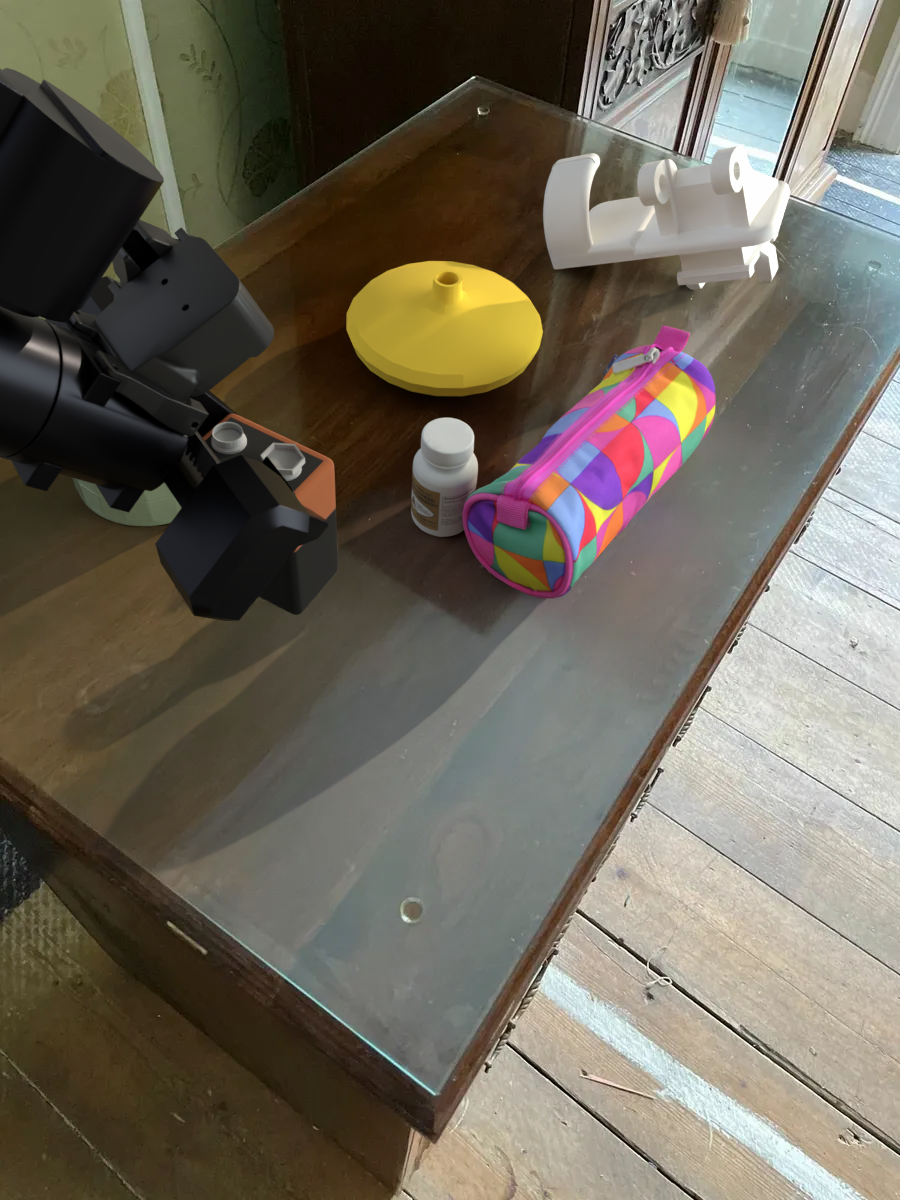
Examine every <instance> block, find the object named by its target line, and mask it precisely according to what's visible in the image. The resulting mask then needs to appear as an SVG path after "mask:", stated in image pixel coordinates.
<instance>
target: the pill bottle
mask: <svg viewBox="0 0 900 1200" xmlns="http://www.w3.org/2000/svg"><path fill="white" fill-rule="evenodd" d="M474 433H475V432H474V431H473V429H472V428H471V426H470V425H469V424H467V423H466V422H464V421H462V420H461V419H458V418H454V417H439V418H435V419H433V420H431V421H429V422H427V423H426V424H425V425H424V427H423V428H422V431H421V436H420V448H419V449H418V450H417V451H416V453H415V455H414V457H413V461H412V474H411V478H412V479H411V501H410V502H411V503H410V513H411V518H412V521H413V522H414V524H415V525H416V526H417V527H418V529H420V530H421V532H422V531H423V532H424V533H426V534H428V535H431V536H434V537H440V538H444V537H452V536H456V535H459V534H460V533H462V532H463V531H464V526H463V509H464V505H465V502H466V500H467V498H468V497H469V495H470V494H472V493H473V492H475V491H476V490H477V483H478V474H479V463H478V458H477V456H476V455H475V453H474V450H475V434H474Z"/></svg>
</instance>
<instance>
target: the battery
mask: <svg viewBox="0 0 900 1200" xmlns="http://www.w3.org/2000/svg"><path fill="white" fill-rule="evenodd" d="M239 415H240V414H238V415H236V414H229V415H227V416H226V417H225V418H224V419H223V420H221V421H220V422H219V423H218V424H217V425H216V426H215V427H214V428H212V429H211V430H210V431H209V432H208V433H207V434H206V435H205V436H204V437H202V438H203V439H204V441H205V442H206V443H207V445H208V446H209V448H210V449H211V450H212V452H213V453H214V454H215V456H216V457H217V459H218V460H219V461H220V463H221V462H223V461H226V460H228V459H231V458H233V457H236V456H239V455H241V454H242V455H245V456H247V457H250V458H253V459H256V460H258V461H260V462H261V463H262V461H263V460H264V459H265V457H266V456H267V457H268V458H269V459H270V460H271V461H272V463H273V464H274V465H275V467H276V468H277V469H278V470H279V472H280V473H281V474H282V476H283V477H284V478H285V480H286V481H287V482H288V483H289V485H290V486H291V487H292V489H293V490H294V492H295V495H296V497H297V499H298V500H299V501H300V503H301V504H302V505H303V506H305V507H307V508H309V509H310V510H312V511H313V512H315V513H317V514H318V515H320V516H321V517H323V518H324V519H325V520H326V521H327V522H328V527H327V528H326V529H325V531H324V532H323V533H322V534H321V536H320V537H319V538H318V539H316V540H314V541H311V542H308V543H306V544H303V545H300V546H298V547H297V549H296V550H295V551H294V552H293V554H292V555H291V556H290V557H289V559H288V560H287V561H286V562H285V564H284V565H283V566H282V567H281V569H280V570H279V571H278V572H277V574H276V575H275V576H274V577H273V579H272V580H271V581H270V583H269V584H268V585H267V586H266V588H265V589H264V590H263V591H262V593H261V594H260V595H259V596H258V598H260V599H262V600H264V601H266V602H268V603H270V604H272V605H273V606H275V607H277V608H279V609H280V610H283V611H285V612H286V613H289V614H291V615H295V616H299V615H301V614H302V613H303V612H304V611H305V610H306V609H307V608H308V606H309V605H310V604H311V603H312V601H313V600H314V599H315V598H316V597H317V596H318V595H319V594H320V592H321V591H322V590H323V589H324V588H325V586H327V584H328V583H329V582H330V581H331V580H332V578H333V577H334V576H335V575H336V574H337V572H338V571H339V557H338V556H339V555H338V534H337V533H338V531H337V529H338V527H337V505H336V504H337V503H336V478H335V477H336V476H335V464H334V461H333V460H332V459H331V458H330V457H328V456H326V455H324V454H322V453H319V452H318V451H315V450H314V449H311V448H309V447H307V446H305V445H304V444H301V443H299V442H297V441H295V440H292V439H290V438H288V437H286V436H284V435H281V434H279V433H277V432H275V431H274V430H271V429H269V428H267V427H264V426H263V425H261V424H258V423H256V422H253V421H252V420H250V419H248V418H245V417H244V416H241V415H240V416H239Z"/></svg>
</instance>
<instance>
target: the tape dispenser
mask: <svg viewBox="0 0 900 1200" xmlns="http://www.w3.org/2000/svg"><path fill="white" fill-rule="evenodd" d="M716 150H717V151H716V152H715V153H714V155H713V156H712V159H711V163H708V164H702V165H697V166H690V167H685V168H680V169H678V167H677V165H676V163H675V162H674V160H672V159H671V158H665V159H659V160H655V161H650V162H646V163H644V164H643V165H642V166H641V167H640V169H639V171H638V174H637V180H636V189H637V194H638V196H633V197H627V198H621V199H613V200H608V201H604V202H601V203H598V204H597V205H595V206H593V207H592V208H591V209H590V196H591V189H592V184H593V181H594V177H595V175H596V173H597V170H598V168H599V167H600V164H601V158H600V156H599V155H598V154H597V153H594V152H590V153H586V154H581V155H575V156H571V157H565V158H560V159H558V160H557V161H556V162H554V163H553V165H552V167H551V170H550V173H549V176H548V179H547V182H546V186H545V190H544V197H543V208H542V216H543V217H542V221H543V233H544V238H545V244H546V248H547V252H548V255H549V260H550V262H551V265H552V268H553V270H563V269H564V270H565V269H570V268H571V269H572V268H581V267H588V266H589V267H590V266H597V265H606V264H614V263H623V262H629V261H631V262H632V261H638V260H647V259H656V258H665V257H671V256H673V257H674V256H678V257H679V262H680V268H679V270H678V271H677V272H676V282H677V286H686V288H688V289H689V290H691V291H695V290H702V289H703V288H704V286H705V284H707V283H717V282H727V281H737V280H746V279H747V280H748V279H751V278H752V276H753V275H754V273H755V272H756V274H757V275H756V276H757V281H758V283H759V284H768V283H771V282H772V281H773V279H774V278H775V276H776V274H777V272H778V270H779V261H778V256H777V248H776V245H774V244H773V242H775V241H776V240H777V238H778V236H779V232H780V228H781V225H782V222H783V220H784V219H783V218H784V216H785V212H786V209H787V205H788V202H789V200H790V197H791V190H790V189H791V188H790V185H789V184H788V183H787V182H786V181H783V180H778V178H776V177H773V176H770V175H767V174H765V173H762V172H761V171H757V170H755V169H753V167H752V165H751V164H750V160H749V157H748V154H747V151H746V149H745V148H744V146H742V145H737V146H731V147H726V148H720V149H716ZM755 269H756V271H755Z"/></svg>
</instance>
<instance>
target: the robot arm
mask: <svg viewBox="0 0 900 1200" xmlns="http://www.w3.org/2000/svg"><path fill="white" fill-rule="evenodd" d="M163 183H165V179H164V176H163V175H162V173H161V172H160V171H159V170H158V169H157V167H156V166H155V165H154V164H153V163H152V162H151V161H150V160H149V159H148V157H146V156H145V155H144V154H143V153H142V152H141V151H140V150H139V149H138V148H137V147H135V146H134V145H133V144H132V143H131V142H129V140H127V138H125V137H123V135H121V134H120V133H119V132H117V130H115V129H114V128H112V127H111V126H110V125H109V124H108V123H106V122H105V121H104V120H103V119H101V118H100V117H99V116H98V115H97V114H95V113H94V112H92V111H91V110H90V109H88V108H87V107H86V106H84V105H83V104H81V102H79V101H77V100H76V99H75V98H73V97H72V96H71V95H69V94H67V93H66V92H64V91H63V90H62V89H60V88H59V87H57V86H55V85H54V84H52V83H51V82H49V81H48V80H46V79H44V78H43V79H42V80H41V83H40V82H38V81H37V80H34V79H33V78H31V77H29V76H28V75H26V74H24V73H22V72H21V71H18V70H16V69H12V68H9V67H5V68H3V69H2V68H0V458H1V459H4V460H8V461H10V462H11V463H12V465H13V467H14V469H15V471H16V472H17V474H18V477H19V478H20V479H21V481H22V483H23V485H24V486H26V487H30V488H33V489H37V490H41V491H44V492H48V491H49V489H50V488H51V486H52V484H53V483H54V482H55V480H56V479H57V477H58V476H59V475H62V476H65V477H69V478H71V479H72V478H75V479H79V480H83V481H86V482H90V483H93V484H96V486H97V487H98V489H99V490H100V492H101V494H102V495H103V497H104V499H105V500H106V502H107V503H108V505H109V507H110V508H113V509H117V510H121V511H125V512H130V510H131V509H132V508H133V506H134V505H135V503H136V502H137V501H138V499H139V498H140V496H141V495H142V494H143V492H144V491H145V490H147V491H153V490H155V489H157V488H158V487H159V486H161V485H162V484H163V483H165V484H166V486H167V487H168V489H169V490H170V492H171V493H172V495H173V496H174V497H175V499H176V500H177V502H178V503H179V505H180V506H181V510H180V511H179V512H178V514H177V515H176V516H175V518H174V519H173V520H172V522H171V523H169V524H168V526H167V527H166V529H165V530H164V531H163V532H162V534H161V535H160V537H159V538H158V539H157V541H156V542H155V547H156V551H157V555H158V559H159V563H160V565H161V566H162V567H163V569H164V571H165V573H166V574H167V576H168V577H169V579H170V581H171V582H172V584H173V585H174V587H175V588H176V590H177V591H178V593H179V594H180V596H181V598H182V599H183V601H184V602H185V604H186V606H187V607H188V609H189V611H190V612H191V614H192V615H193V617H199V618H205V619H210V620H218V621H223V622H238V621H239V622H240V620H241V619H242V618H243V616H245V614H246V613H247V612H248V611H249V609H250V608H251V606H252V605H254V603H255V602H256V600H257V599H258V598H259V597H258V596H259V595H260V594H261V593H262V591H263V590H264V589H265V588H266V586H267V585H268V584H269V583H270V581H271V580H272V579H273V577H274V576H275V575H276V574H277V572H278V571H279V570H280V569H281V567H282V566H283V565H284V564H285V562H286V561H287V560H288V559H289V557H290V556H291V555H292V554H293V552H294V551H295V550H296V549H297V547H298V546H300V545H303V544H306V543H308V542H311V541H314V540H316V539H318V538H319V537H320V536H321V534H322V533H323V532H324V531H325V529H326V528H327V527H328V522H327V521H326V520H325V519H324V518H323V517H321V516H320V515H318V514H317V513H315V512H313V511H312V510H310V509H309V508H307V507H305V506H303V505H302V504H301V503H300V501H299V500H298V499H297V497H296V495H295V492H294V490H293V489H292V487H291V486H290V485H289V483H288V482H287V481H286V480H285V478H284V477H283V476H282V474H281V473H280V472H279V470H278V469H277V468H276V467H275V465H274V464H273V463H272V461H271V460H270V459H269V458H268V457H267V456H266V457H265V459H264V460H263V461H262V463H261V462H260V461H258V460H256V459H253V458H250V457H247V456H245V455H242V454H241V455H239V456H236V457H233V458H231V459H228V460H226V461H223V462H221V463H220V461H219V460H218V459H217V457H216V456H215V454H214V453H213V452H212V450H211V449H210V448H209V446H208V445H207V443H206V442H205V441H204V439H203V438H202V437H204V436H205V435H206V434H207V433H208V432H209V431H210V430H211V429H212V428H214V427H215V426H216V425H217V424H218V423H219V422H220V421H221V420H223V419H224V418H225V417H226V416H227V415H229V414H236V415H239V416H241V415H240V414H238V412H236V411H235V410H233V408H231V407H230V406H229V405H228V404H226V403H225V402H224V401H223V400H222V399H220V398H219V397H218V396H217V395H216V394H215V393H213V392H212V391H211V390H212V389H213V388H214V387H216V386H217V385H218V384H219V383H221V382H222V381H223V380H224V379H226V378H227V377H228V376H229V375H230V374H232V373H234V371H236V370H237V369H238V368H239V367H240V366H242V365H243V364H244V363H245V362H247V361H248V360H249V359H251V358H257V357H259V356H261V354H263V352H265V351H266V350H267V349H268V348H269V347H270V345H271V344H272V342H273V340H274V336H275V328H274V326H273V324H272V323H271V322H270V320H269V318H268V317H267V316H266V314H265V313H264V312H263V310H262V309H261V308H260V307H259V305H258V303H257V302H256V301H255V299H254V298H253V296H252V295H251V294H250V292H249V291H248V290H247V288H246V287H245V285H244V284H243V282H242V281H241V280H240V278H239V276H238V275H237V274H236V273H235V272H234V271H233V270H232V269H231V268H230V266H229V265H228V264H227V263H226V262H225V261H224V259H223V258H222V257H221V256H220V255H219V254H218V252H217V251H216V250H215V249H214V248H213V247H212V245H210V244H209V243H208V241H207V240H205V239H204V238H202V237H200V236H195V235H193V234H192V235H191V234H190V235H189V234H188V233H187V231H186V230H185V229H184V228H183V227H180V228H178V229H176V231H175V232H174V235H175V237H173V236H172V235H171V234H170V233H169V232H168V231H167V230H165V229H164V228H161V227H158V226H156V225H154V224H151V223H149V222H146V221H144V220H142V219H141V218H142V216H143V215H144V213H145V212H146V210H147V208H148V207H149V206H150V204H151V202H152V201H153V199H154V198H155V196H156V194H157V193H158V191H159V190H160V188H161V187H162V185H163ZM176 237H177V238H176ZM111 264H112V266H113V270H114V273H115V275H116V276H117V277H118V279H119V281H118V280H116V279H114V278H112V277H110V276H108V275H105V274H106V272H107V270H108V269H109V267H110V266H111ZM104 275H105V276H104Z"/></svg>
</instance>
